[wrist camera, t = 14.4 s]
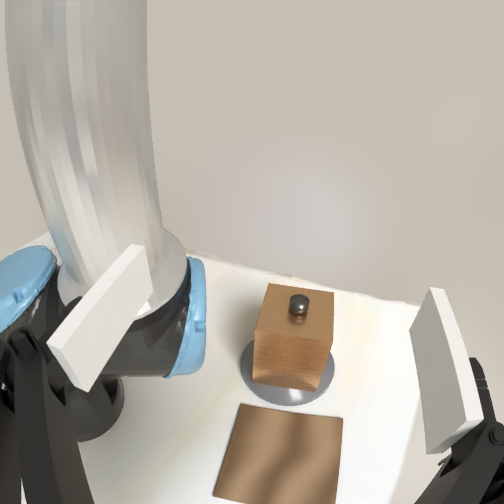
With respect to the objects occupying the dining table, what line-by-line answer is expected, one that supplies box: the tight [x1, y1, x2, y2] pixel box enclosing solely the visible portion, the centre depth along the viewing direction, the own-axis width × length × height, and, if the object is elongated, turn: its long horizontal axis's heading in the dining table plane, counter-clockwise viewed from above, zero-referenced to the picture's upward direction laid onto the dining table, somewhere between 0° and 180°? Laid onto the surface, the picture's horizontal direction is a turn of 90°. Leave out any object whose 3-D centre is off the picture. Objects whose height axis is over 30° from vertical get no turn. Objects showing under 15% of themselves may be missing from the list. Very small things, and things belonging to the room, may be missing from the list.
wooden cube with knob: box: [252, 283, 334, 392], centre depth 40 cm, size 9×9×13 cm
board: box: [213, 404, 343, 504], centre depth 31 cm, size 14×14×1 cm
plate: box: [241, 340, 334, 406], centre depth 43 cm, size 14×14×1 cm
